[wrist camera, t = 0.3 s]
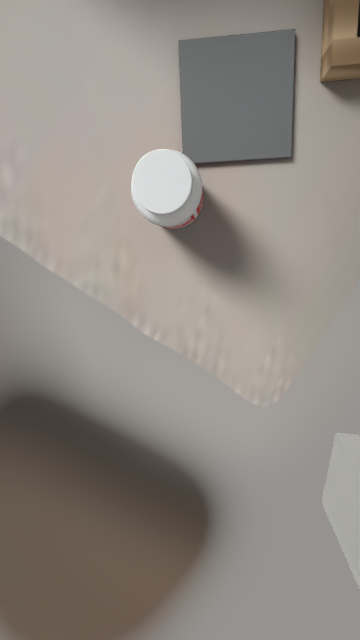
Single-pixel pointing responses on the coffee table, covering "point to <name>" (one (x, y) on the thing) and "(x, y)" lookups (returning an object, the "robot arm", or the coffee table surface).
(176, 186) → the pill bottle
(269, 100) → the rubber mat
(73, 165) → the coffee table surface
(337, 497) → the robot arm
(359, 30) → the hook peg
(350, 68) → the block
